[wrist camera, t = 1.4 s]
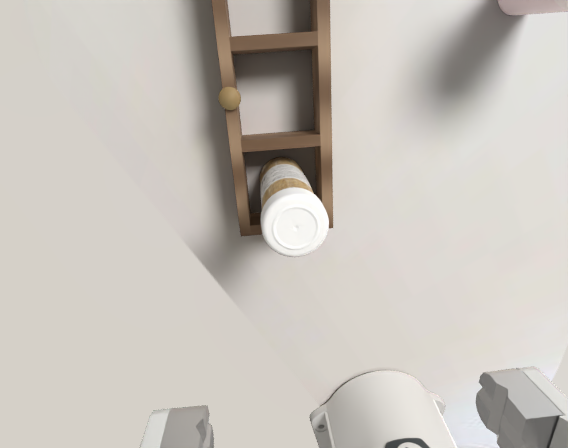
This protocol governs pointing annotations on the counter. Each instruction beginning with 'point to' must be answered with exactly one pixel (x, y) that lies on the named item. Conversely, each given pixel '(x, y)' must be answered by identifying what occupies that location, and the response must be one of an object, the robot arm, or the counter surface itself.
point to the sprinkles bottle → (290, 210)
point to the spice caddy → (283, 140)
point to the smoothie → (532, 6)
